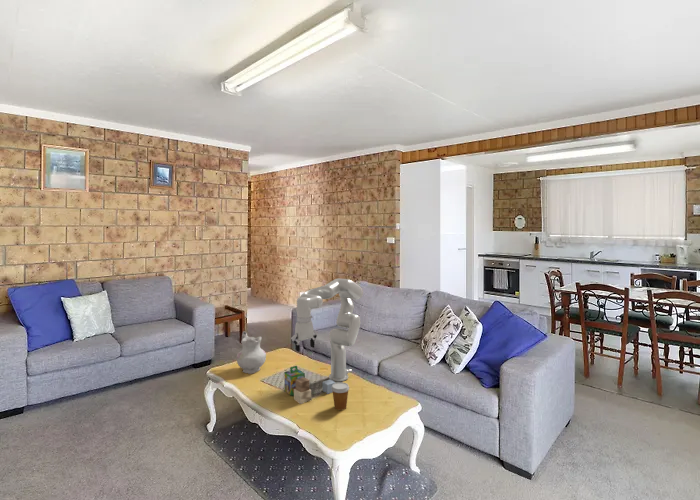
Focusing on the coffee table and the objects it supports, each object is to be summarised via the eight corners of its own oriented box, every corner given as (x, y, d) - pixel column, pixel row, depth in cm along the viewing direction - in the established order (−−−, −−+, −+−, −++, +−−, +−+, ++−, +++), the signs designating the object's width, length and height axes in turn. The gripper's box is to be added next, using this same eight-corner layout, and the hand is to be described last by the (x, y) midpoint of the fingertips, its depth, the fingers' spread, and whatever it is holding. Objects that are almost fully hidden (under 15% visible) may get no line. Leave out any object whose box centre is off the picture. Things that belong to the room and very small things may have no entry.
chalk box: (291, 396, 218) (291, 371, 217) (284, 391, 225) (283, 366, 224) (305, 392, 223) (305, 367, 222) (297, 387, 230) (297, 362, 230)
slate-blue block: (330, 388, 229) (330, 379, 228) (335, 391, 224) (335, 382, 224) (322, 390, 225) (322, 381, 225) (327, 394, 221) (327, 384, 220)
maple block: (304, 396, 218) (304, 385, 218) (311, 400, 213) (311, 390, 212) (293, 399, 214) (293, 389, 214) (300, 404, 209) (300, 393, 208)
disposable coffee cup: (343, 413, 198) (342, 390, 197) (328, 408, 203) (327, 386, 202) (352, 406, 206) (352, 384, 205) (338, 401, 211) (337, 380, 210)
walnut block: (303, 386, 217) (303, 377, 217) (309, 389, 213) (309, 380, 212) (295, 389, 213) (295, 379, 213) (301, 392, 209) (301, 382, 209)
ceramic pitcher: (229, 372, 257) (225, 336, 254) (251, 361, 273) (248, 327, 270) (250, 379, 245) (247, 342, 242) (273, 367, 261) (270, 332, 258)
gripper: (313, 315, 223) (314, 343, 225) (287, 321, 212) (288, 351, 214) (320, 317, 217) (321, 347, 219) (294, 323, 206) (295, 354, 208)
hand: (305, 349), depth 216 cm, fingers open, 9 cm apart
